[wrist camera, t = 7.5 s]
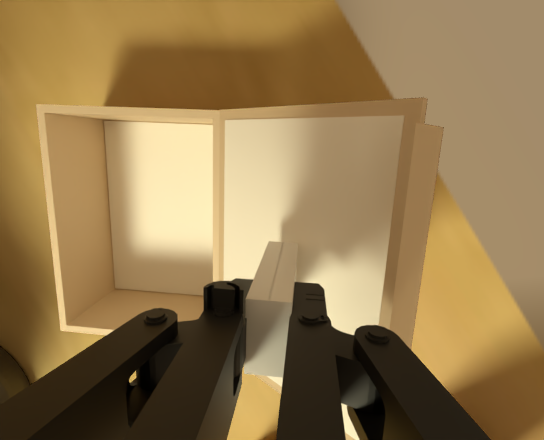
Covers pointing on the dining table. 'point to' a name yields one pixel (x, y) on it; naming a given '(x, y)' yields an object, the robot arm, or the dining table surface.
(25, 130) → the dining table surface
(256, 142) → the lid
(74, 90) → the dining table surface
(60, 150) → the box
